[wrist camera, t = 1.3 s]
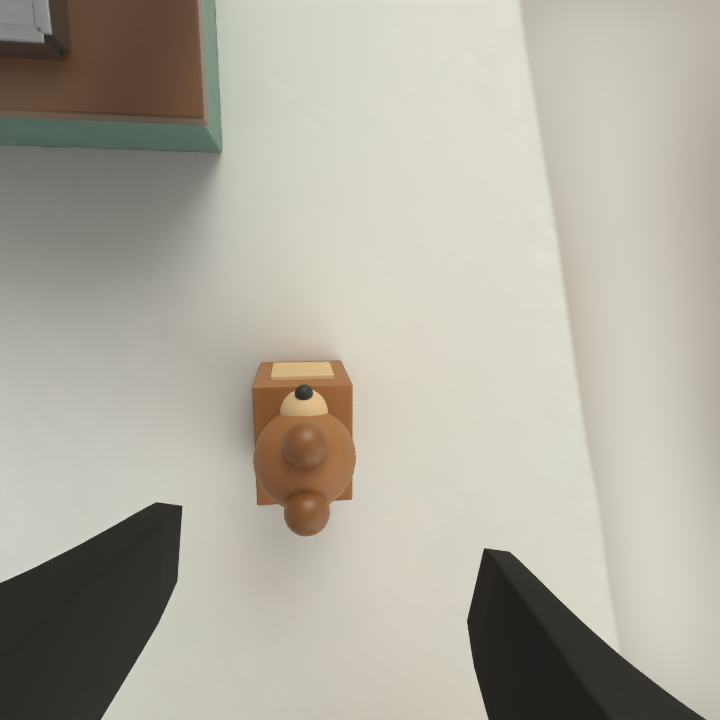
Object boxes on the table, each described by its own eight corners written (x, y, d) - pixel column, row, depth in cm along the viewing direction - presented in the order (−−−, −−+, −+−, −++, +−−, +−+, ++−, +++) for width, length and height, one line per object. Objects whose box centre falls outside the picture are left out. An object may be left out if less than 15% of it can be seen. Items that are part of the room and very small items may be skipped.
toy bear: (264, 459, 22) (246, 571, 14) (260, 352, 21) (238, 406, 13) (341, 455, 22) (367, 562, 14) (341, 350, 21) (369, 402, 13)
